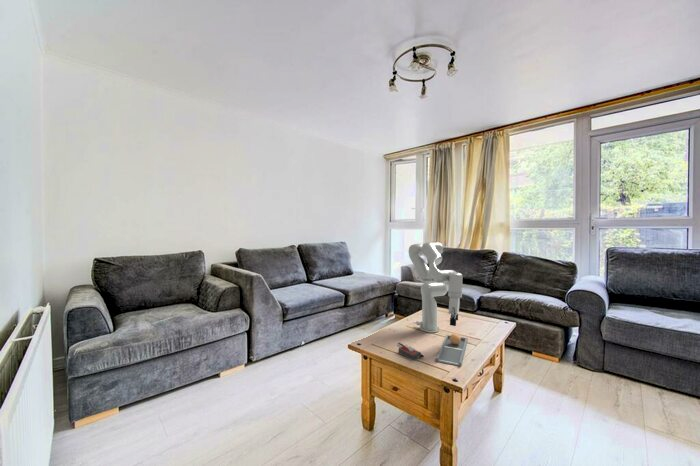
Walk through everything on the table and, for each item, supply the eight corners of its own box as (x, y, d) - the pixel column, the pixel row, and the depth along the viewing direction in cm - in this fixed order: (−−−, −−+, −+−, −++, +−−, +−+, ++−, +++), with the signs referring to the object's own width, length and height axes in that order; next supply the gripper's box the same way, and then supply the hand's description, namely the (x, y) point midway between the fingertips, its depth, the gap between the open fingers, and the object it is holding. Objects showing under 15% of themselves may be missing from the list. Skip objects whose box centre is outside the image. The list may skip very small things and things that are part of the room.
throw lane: (436, 361, 147) (436, 357, 147) (446, 337, 178) (446, 334, 178) (461, 366, 142) (461, 362, 142) (467, 341, 173) (467, 338, 173)
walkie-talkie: (426, 357, 152) (399, 345, 169) (426, 349, 152) (399, 337, 169) (414, 362, 147) (388, 348, 164) (415, 353, 147) (388, 341, 164)
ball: (448, 345, 166) (449, 335, 166) (450, 341, 172) (450, 331, 171) (459, 347, 164) (460, 336, 163) (461, 343, 169) (461, 333, 169)
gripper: (450, 289, 176) (449, 316, 178) (446, 296, 161) (445, 326, 162) (463, 291, 173) (462, 319, 174) (460, 298, 158) (459, 329, 159)
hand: (454, 322), depth 168 cm, fingers open, 9 cm apart
